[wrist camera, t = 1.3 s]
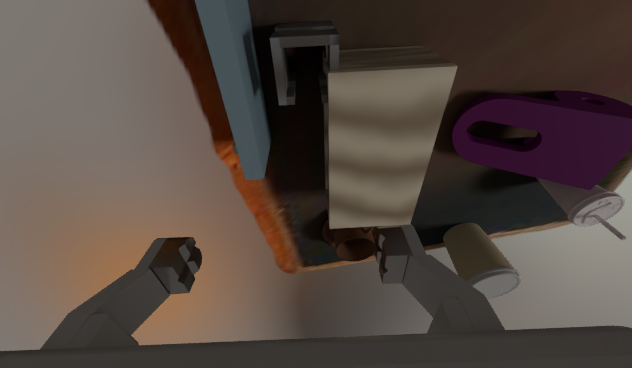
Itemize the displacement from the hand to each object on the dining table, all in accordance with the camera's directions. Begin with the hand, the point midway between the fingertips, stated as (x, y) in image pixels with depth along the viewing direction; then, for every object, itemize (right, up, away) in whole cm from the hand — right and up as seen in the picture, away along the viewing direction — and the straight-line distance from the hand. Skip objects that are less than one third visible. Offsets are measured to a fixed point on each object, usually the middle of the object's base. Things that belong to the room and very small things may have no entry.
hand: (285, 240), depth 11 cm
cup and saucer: (+8, -6, +40) cm, 41 cm away
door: (-7, +18, +19) cm, 27 cm away
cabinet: (+6, +11, +25) cm, 28 cm away
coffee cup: (+33, -8, +43) cm, 55 cm away
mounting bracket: (+30, +12, +26) cm, 42 cm away
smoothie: (+42, +5, +33) cm, 53 cm away
